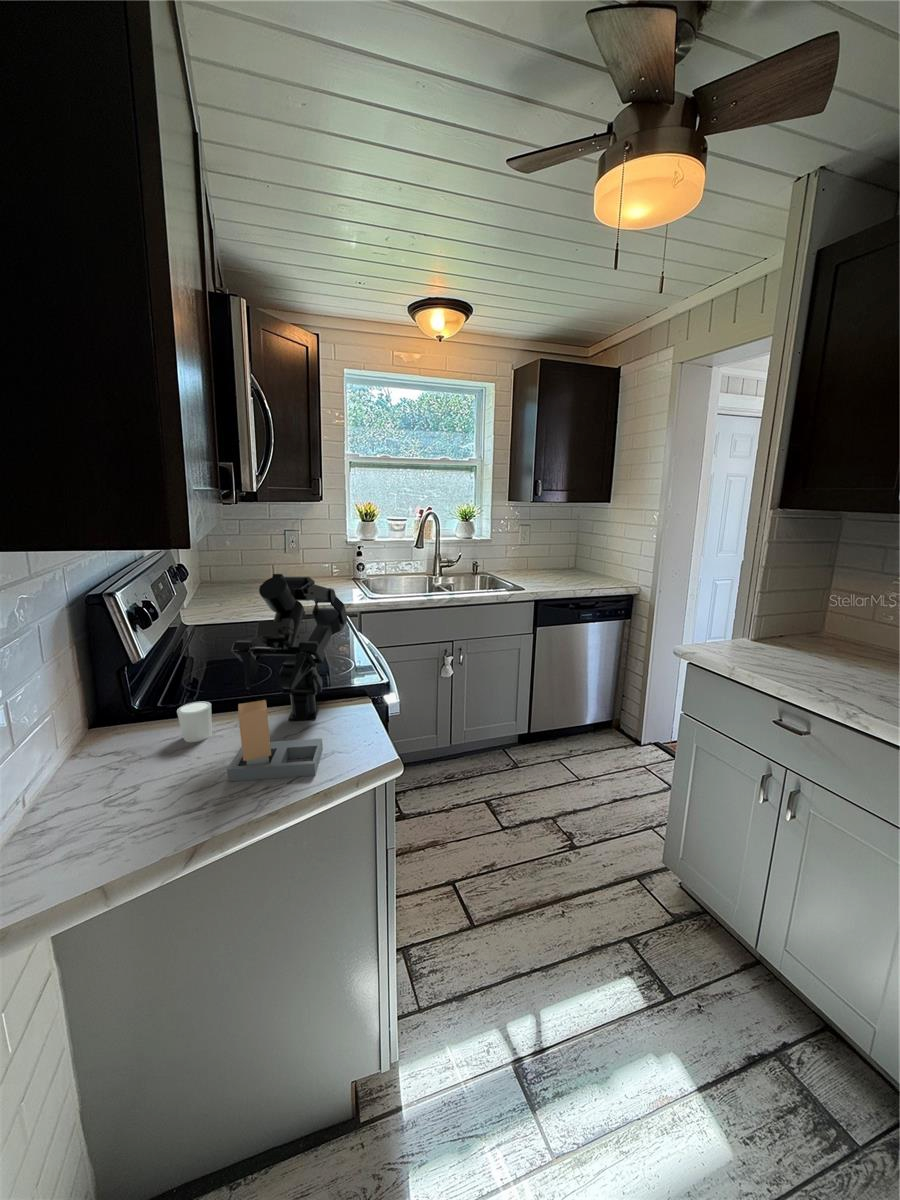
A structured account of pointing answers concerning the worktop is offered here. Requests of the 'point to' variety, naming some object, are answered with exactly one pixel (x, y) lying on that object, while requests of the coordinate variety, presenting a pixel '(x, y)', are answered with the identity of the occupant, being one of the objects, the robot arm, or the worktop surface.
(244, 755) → the plug
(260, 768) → the socket block
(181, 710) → the white cylinder
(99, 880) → the worktop surface
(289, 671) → the robot arm
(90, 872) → the worktop surface
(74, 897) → the worktop surface
